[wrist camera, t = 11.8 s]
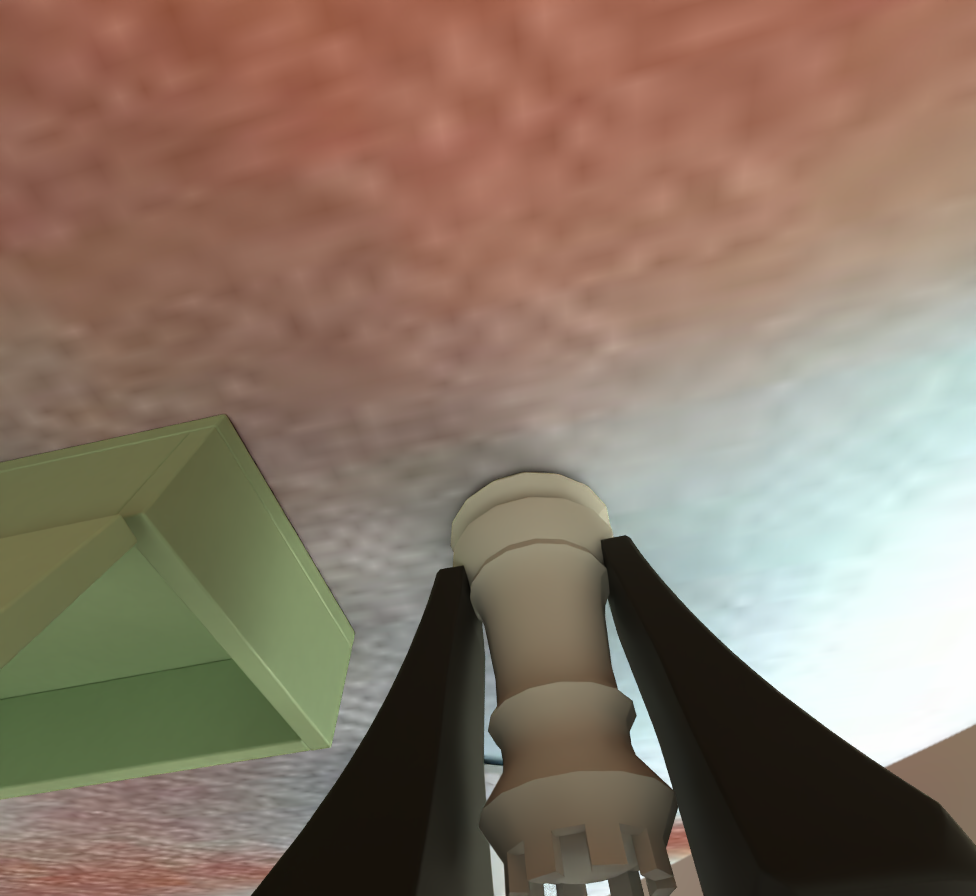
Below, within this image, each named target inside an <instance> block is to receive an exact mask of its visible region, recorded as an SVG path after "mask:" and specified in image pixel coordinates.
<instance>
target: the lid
mask: <svg viewBox="0 0 976 896" xmlns="http://www.w3.org/2000/svg"><path fill="white" fill-rule="evenodd" d="M136 543H137V539H136V538H135V536H134V535H133V533H132V531H131V530H130V528H129V527H128V525H127V524H126V522H125V520H124V519H123V517H122V516H121V515H113V516H108V517H104V518H99V519H94V520H89V521H84V522H79V523H74V524H69V525H64V526H59V527H54V528H50V529H45V530H40V531H35V532H30V533H25V534H20V535H15V536H10V537H5V538H0V670H1V669H2V668H3V667H4V666H5V665H7V664H8V663H9V662H10V661H11V660H12V659H13V658H14V657H15V656H16V655H17V654H18V653H19V652H20V651H22V650H23V649H24V648H25V647H26V646H27V645H28V644H29V643H30V642H31V641H32V640H33V639H34V638H35V637H37V636H38V635H39V634H40V633H41V632H42V631H43V630H44V629H45V628H46V627H47V626H48V625H49V624H50V623H52V622H53V621H54V620H55V619H56V618H57V617H58V616H59V615H60V614H61V613H62V612H63V611H64V610H65V609H66V608H68V607H69V606H70V605H71V604H72V603H73V602H74V601H75V600H76V599H77V598H78V597H79V596H80V595H81V594H83V593H84V592H85V591H86V590H87V589H88V588H89V587H90V586H91V585H92V584H93V583H94V582H95V581H96V580H98V579H99V578H100V577H101V576H102V575H103V574H104V573H105V572H106V571H107V570H108V569H109V568H110V567H111V566H113V565H114V564H115V563H116V562H117V561H118V560H119V559H120V558H121V557H122V556H123V555H124V554H125V553H126V552H128V551H129V550H130V549H131V548H132V547H133V546H134V545H135V544H136Z"/></svg>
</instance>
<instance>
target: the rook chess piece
mask: <svg viewBox="0 0 976 896" xmlns="http://www.w3.org/2000/svg"><path fill="white" fill-rule="evenodd" d="M613 537H614V536H613V532H612V529H611V526H610V521H609V517H608V513H607V508H606V505H605V504H604V503H603V502H602V501H601V500H600V499H599V498H598V496H597V495H596V494H595V493H594V492H593V491H592V490H591V489H590V488H589V487H588V486H587V485H584V484H582V483H579V482H577V481H575V480H572V479H570V478H567V477H565V476H562V475H560V474H555V473H539V472H522V473H518V474H514V475H511V476H507V477H504V478H500V479H497V480H495V481H493V482H491V483H490V484H488V485H487V486H486V487H484V488H483V489H481V490H480V491H478V492H477V493H475V494H474V495H473V496H471V497H470V498H468V499H467V500H466V501H465V503H464V504H463V506H462V508H461V509H460V511H459V512H458V514H457V516H456V517H455V519H454V520H453V522H452V532H451V548H452V550H453V552H454V557H453V567H456V566H462V565H464V568H465V571H466V574H467V577H468V581H469V585H470V589H471V593H470V600H471V603H472V606H473V608H474V611H475V614H476V616H477V618H478V619H479V620H480V621H482V622H483V624H484V626H485V630H486V635H487V640H488V645H489V649H490V654H491V659H492V664H493V669H494V674H495V679H496V694H497V707H496V709H495V710H494V712H493V713H492V714H491V717H490V722H489V728H488V732H489V733H490V735H491V737H492V738H493V740H494V741H495V743H496V745H497V746H498V747H499V748H500V749H501V753H502V758H503V773H502V775H501V776H500V778H499V780H498V782H497V784H496V785H495V787H494V789H493V791H492V793H491V795H490V796H489V798H488V800H487V802H486V804H485V805H484V807H483V809H482V811H481V817H480V822H479V829H480V830H481V832H482V833H483V834H484V836H485V837H486V839H487V840H488V842H489V843H490V845H491V846H492V848H493V849H494V851H495V852H496V854H497V855H498V857H499V858H500V860H501V861H502V862H503V864H504V878H505V896H545V895H544V886H543V884H545V883H549V884H556V890H557V896H587V891H586V885H585V884H587V883H594V882H600V881H604V880H608V883H609V888H610V893H611V896H644V893H643V889H642V884H641V880H640V876H639V872H638V871H639V870H640V873H641V875H642V876H644V877H645V879H646V883H647V886H648V891H649V895H650V896H670V894H671V893H672V892H673V891H674V890H675V889H676V888H677V886H676V882H675V879H674V876H673V872H672V868H671V865H670V861H669V858H668V854H667V851H666V846H667V843H668V840H669V836H670V833H671V830H672V826H673V823H674V820H675V816H676V813H677V810H678V805H677V800H676V796H675V791H674V790H673V789H671V788H670V787H669V786H668V785H667V784H666V783H665V782H664V781H663V780H662V779H661V778H660V777H659V776H658V775H657V774H655V773H654V772H653V771H652V770H651V769H650V768H649V767H648V766H647V765H646V764H645V763H644V762H643V761H642V760H641V759H639V758H638V757H637V756H636V755H635V752H634V750H633V747H632V745H631V739H630V729H631V727H632V725H633V723H634V720H635V718H636V712H635V708H634V705H633V701H632V700H631V699H629V698H628V697H627V696H625V695H624V694H623V693H621V692H620V691H619V690H618V688H617V684H616V680H615V677H614V673H613V670H612V665H611V658H610V650H609V643H608V635H607V628H606V620H605V605H606V602H607V599H608V596H609V593H610V592H609V581H608V573H607V568H606V567H605V566H604V560H603V554H602V549H601V540H603V539H608V538H613Z"/></svg>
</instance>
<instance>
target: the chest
mask: <svg viewBox="0 0 976 896" xmlns="http://www.w3.org/2000/svg"><path fill="white" fill-rule="evenodd" d="M113 515H121V516H122V517H123V519H124V520H125V522H126V524H127V525H128V527H129V528H130V530H131V531H132V533H133V535H134V536H135V538H136V539H137V543H136V544H135V545H134V546H133V547H132V548H131V549H130V550H129V551H128V552H126V553H125V554H124V555H123V556H122V557H121V558H120V559H119V560H118V561H117V562H116V563H115V564H114V565H113V566H111V567H110V568H109V569H108V570H107V571H106V572H105V573H104V574H103V575H102V576H101V577H100V578H99V579H98V580H96V581H95V582H94V583H93V584H92V585H91V586H90V587H89V588H88V589H87V590H86V591H85V592H84V593H83V594H81V595H80V596H79V597H78V598H77V599H76V600H75V601H74V602H73V603H72V604H71V605H70V606H69V607H68V608H66V609H65V610H64V611H63V612H62V613H61V614H60V615H59V616H58V617H57V618H56V619H55V620H54V621H53V622H52V623H50V624H49V625H48V626H47V627H46V628H45V629H44V630H43V631H42V632H41V633H40V634H39V635H38V636H37V637H35V638H34V639H33V640H32V641H31V642H30V643H29V644H28V645H27V646H26V647H25V648H24V649H23V650H22V651H20V652H19V653H18V654H17V655H16V656H15V657H14V658H13V659H12V660H11V661H10V662H9V663H8V664H7V665H5V666H4V667H3V668H2V669H1V670H0V800H1V799H7V798H13V797H20V796H26V795H32V794H39V793H45V792H51V791H57V790H64V789H70V788H76V787H83V786H89V785H95V784H102V783H108V782H114V781H120V780H127V779H133V778H139V777H146V776H152V775H158V774H164V773H171V772H177V771H183V770H190V769H196V768H202V767H209V766H215V765H221V764H227V763H234V762H240V761H246V760H253V759H259V758H265V757H271V756H278V755H284V754H290V753H297V752H303V751H308V750H318V749H324V748H330V747H331V746H332V741H333V736H334V731H335V727H336V722H337V717H338V712H339V707H340V703H341V698H342V693H343V688H344V684H345V679H346V674H347V669H348V665H349V660H350V655H351V650H352V649H351V648H352V645H353V640H354V635H355V632H354V631H353V629H352V627H351V626H350V624H349V622H348V620H347V619H346V617H345V615H344V614H343V612H342V610H341V609H340V607H339V605H338V603H337V602H336V600H335V598H334V597H333V595H332V593H331V592H330V590H329V588H328V587H327V585H326V583H325V581H324V580H323V578H322V576H321V575H320V573H319V571H318V570H317V568H316V566H315V565H314V563H313V561H312V559H311V558H310V556H309V554H308V553H307V551H306V549H305V548H304V546H303V544H302V543H301V541H300V539H299V537H298V536H297V534H296V532H295V531H294V529H293V527H292V526H291V524H290V522H289V520H288V519H287V517H286V515H285V514H284V512H283V510H282V509H281V507H280V505H279V504H278V502H277V500H276V498H275V497H274V495H273V493H272V492H271V490H270V488H269V487H268V485H267V483H266V482H265V480H264V478H263V476H262V475H261V473H260V471H259V470H258V468H257V466H256V465H255V463H254V461H253V459H252V458H251V456H250V454H249V453H248V451H247V449H246V448H245V446H244V444H243V443H242V441H241V439H240V437H239V436H238V434H237V432H236V431H235V429H234V427H233V426H232V424H231V422H230V421H229V419H228V417H227V416H226V415H225V414H223V415H218V416H213V417H209V418H204V419H200V420H195V421H190V422H186V423H181V424H177V425H172V426H167V427H163V428H158V429H153V430H149V431H144V432H140V433H135V434H130V435H126V436H121V437H117V438H112V439H107V440H103V441H98V442H94V443H89V444H84V445H80V446H75V447H70V448H66V449H61V450H57V451H52V452H47V453H43V454H38V455H34V456H29V457H24V458H20V459H15V460H11V461H6V462H1V463H0V538H5V537H10V536H15V535H20V534H25V533H30V532H35V531H40V530H45V529H50V528H54V527H59V526H64V525H69V524H74V523H79V522H84V521H89V520H94V519H99V518H104V517H108V516H113Z"/></svg>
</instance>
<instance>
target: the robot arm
mask: <svg viewBox="0 0 976 896" xmlns="http://www.w3.org/2000/svg"><path fill="white" fill-rule="evenodd" d="M601 549H602V554H603V560H604V566H605V567H606V568H607V573H608V581H609V592H610V593H609V596H608V601H609V605H610V609H611V612H612V616H613V619H614V623H615V627H616V630H617V634H618V636H619V639H620V642H621V644H622V647H623V649H624V652H625V655H626V657H627V660H628V662H629V665H630V668H631V670H632V673H633V675H634V678H635V680H636V683H637V685H638V688H639V691H640V693H641V696H642V698H643V701H644V703H645V706H646V708H647V711H648V714H649V716H650V719H651V721H652V724H653V727H654V729H655V732H656V735H657V738H658V741H659V744H660V747H661V750H662V754H663V757H664V760H665V764H666V767H667V770H668V774H669V777H670V780H671V784H672V787H673V790H674V791H675V796H676V800H677V804H678V808H679V811H680V815H681V818H682V821H683V825H684V828H685V832H686V835H687V839H688V842H689V846H690V849H691V853H692V856H693V860H694V863H695V867H696V870H697V874H698V878H699V881H700V885H701V888H702V892H703V895H704V896H976V845H975V844H974V843H973V842H972V840H971V839H970V838H969V837H968V836H967V835H966V833H965V832H964V831H963V830H962V829H961V828H960V826H959V825H958V824H957V823H956V822H955V821H954V819H953V818H952V817H951V816H950V815H949V814H948V813H947V811H946V810H945V809H944V808H943V807H942V806H941V805H940V804H939V803H938V802H937V801H935V800H933V799H932V798H931V797H929V796H927V795H926V794H924V793H923V792H921V791H920V790H918V789H916V788H915V787H913V786H912V785H910V784H908V783H907V782H905V781H904V780H902V779H901V778H899V777H898V776H896V775H894V774H893V773H891V772H890V771H889V770H887V769H886V768H884V767H883V766H881V765H880V764H878V763H877V762H875V761H874V760H872V759H870V758H869V757H868V756H866V755H865V754H863V753H862V752H860V751H859V750H857V749H856V748H855V747H853V746H852V745H850V744H849V743H847V742H846V741H845V740H843V739H842V738H840V737H839V736H837V735H836V734H835V733H833V732H832V731H830V730H829V729H828V728H826V727H825V726H824V725H822V724H821V723H820V722H818V721H817V720H816V719H814V718H813V717H812V716H810V715H809V714H808V713H807V712H805V711H804V710H803V709H801V708H800V707H799V706H797V705H796V704H795V703H793V702H792V701H791V700H789V699H788V698H787V697H785V696H784V695H783V694H781V693H780V692H779V691H778V690H776V689H775V688H774V687H773V686H772V685H770V684H769V683H768V682H767V681H766V680H764V679H763V678H762V677H761V676H760V675H758V674H757V673H756V672H755V671H754V670H752V669H751V668H750V667H749V666H748V665H747V664H746V663H744V662H743V661H742V660H741V659H740V658H739V657H738V656H736V655H735V654H734V653H733V652H732V651H731V650H730V649H729V648H728V647H727V646H725V645H724V644H723V643H722V642H721V641H720V640H719V639H718V638H717V637H716V636H715V635H714V634H713V633H712V632H711V631H710V630H709V629H708V628H707V627H706V626H705V625H704V624H703V623H702V622H701V621H700V620H699V619H698V618H697V617H696V616H695V615H694V614H693V613H692V612H691V611H690V610H689V609H688V608H687V607H686V606H685V605H684V604H683V602H682V601H681V600H680V599H679V598H678V597H677V596H676V595H675V594H674V593H673V592H672V590H671V589H670V588H669V587H668V586H667V585H666V584H665V583H664V581H663V580H662V579H661V578H660V577H659V575H658V574H657V573H656V572H655V571H654V569H653V568H652V567H651V566H650V564H649V563H648V562H647V561H646V559H645V558H644V557H643V555H642V554H641V553H640V551H639V550H638V549H637V547H636V546H635V544H634V543H633V541H632V540H631V538H629V537H628V536H626V535H624V536H619V537H613V538H608V539H603V540H601ZM470 593H471V589H470V585H469V581H468V577H467V574H466V571H465V568H464V565H462V566H456V567H451V568H445V569H440V570H439V571H438V573H437V575H436V578H435V581H434V585H433V588H432V591H431V594H430V597H429V600H428V603H427V605H426V608H425V611H424V614H423V616H422V619H421V622H420V624H419V627H418V629H417V631H416V634H415V636H414V639H413V641H412V644H411V646H410V649H409V651H408V653H407V655H406V658H405V660H404V662H403V664H402V666H401V668H400V670H399V672H398V675H397V677H396V679H395V681H394V683H393V685H392V687H391V689H390V691H389V693H388V695H387V697H386V699H385V701H384V703H383V705H382V707H381V709H380V710H379V712H378V714H377V716H376V718H375V719H374V721H373V723H372V725H371V727H370V728H369V730H368V732H367V734H366V735H365V737H364V738H363V740H362V742H361V743H360V745H359V747H358V748H357V750H356V752H355V753H354V755H353V757H352V758H351V760H350V761H349V763H348V765H347V766H346V768H345V769H344V771H343V772H342V774H341V775H340V777H339V778H338V780H337V781H336V783H335V784H334V786H333V787H332V789H331V790H330V792H329V793H328V794H327V796H326V797H325V799H324V800H323V802H322V803H321V804H320V806H319V807H318V809H317V810H316V811H315V813H314V814H313V816H312V817H311V819H310V820H309V821H308V823H307V824H306V826H305V827H304V828H303V830H302V831H301V832H300V834H299V835H298V837H297V838H296V839H295V840H294V842H293V843H292V844H291V846H290V847H289V848H288V849H287V851H286V852H285V853H284V854H283V856H282V857H281V858H280V860H279V861H278V862H277V863H276V865H275V866H274V867H273V868H272V870H271V871H270V872H269V874H268V875H267V876H266V877H265V879H264V880H263V881H262V882H261V884H260V885H259V886H258V887H257V889H256V890H255V891H254V892H253V894H252V895H251V896H505V878H504V864H503V862H502V861H501V860H500V858H499V857H498V855H497V854H496V852H495V851H494V849H493V848H492V846H491V845H490V843H489V842H488V840H487V839H486V837H485V836H484V834H483V833H482V832H481V830H480V829H479V822H480V817H481V811H482V809H483V807H484V805H485V804H486V802H487V800H488V798H489V796H490V795H491V793H492V791H493V789H494V787H495V785H496V784H497V782H498V780H499V778H500V776H501V775H502V773H503V766H500V765H490V764H484V703H485V651H484V639H483V629H482V621H480V620H479V619H478V618H477V616H476V614H475V611H474V608H473V606H472V603H471V600H470Z"/></svg>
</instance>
